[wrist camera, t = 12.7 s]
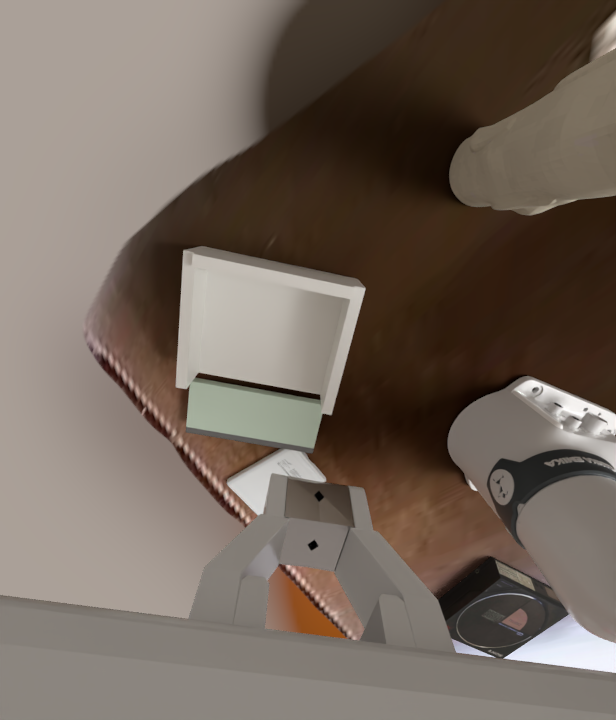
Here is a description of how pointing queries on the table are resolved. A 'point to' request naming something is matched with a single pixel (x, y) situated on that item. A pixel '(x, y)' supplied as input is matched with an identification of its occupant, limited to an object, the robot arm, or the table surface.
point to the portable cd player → (499, 609)
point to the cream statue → (545, 148)
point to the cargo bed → (265, 322)
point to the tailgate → (253, 415)
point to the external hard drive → (257, 476)
